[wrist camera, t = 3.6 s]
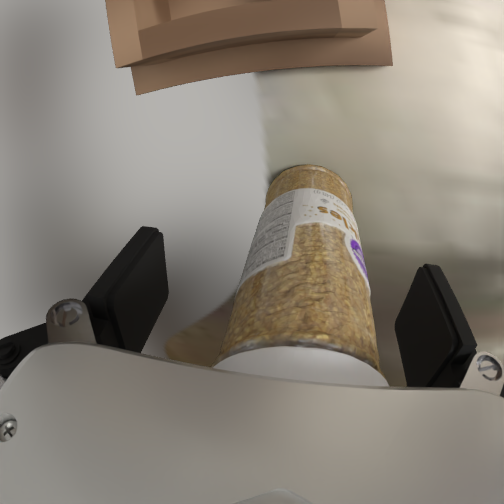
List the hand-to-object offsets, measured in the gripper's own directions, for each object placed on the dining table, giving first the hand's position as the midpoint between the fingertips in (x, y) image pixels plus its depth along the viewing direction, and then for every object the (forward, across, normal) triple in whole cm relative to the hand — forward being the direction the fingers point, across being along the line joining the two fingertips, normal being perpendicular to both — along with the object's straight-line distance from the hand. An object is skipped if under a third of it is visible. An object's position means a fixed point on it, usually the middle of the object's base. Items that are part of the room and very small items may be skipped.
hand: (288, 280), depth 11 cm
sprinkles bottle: (+7, -1, 0) cm, 7 cm away
